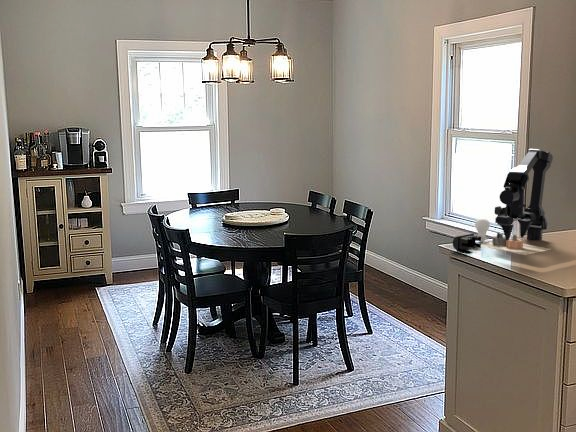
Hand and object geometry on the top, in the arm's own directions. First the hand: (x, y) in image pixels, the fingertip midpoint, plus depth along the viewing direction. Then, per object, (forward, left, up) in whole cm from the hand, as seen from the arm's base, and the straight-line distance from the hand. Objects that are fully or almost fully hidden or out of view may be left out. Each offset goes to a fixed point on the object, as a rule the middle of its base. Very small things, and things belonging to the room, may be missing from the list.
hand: (514, 238), depth 264 cm
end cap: (+16, -11, -5) cm, 20 cm away
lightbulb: (-2, -18, -5) cm, 19 cm away
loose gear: (0, 0, -4) cm, 4 cm away
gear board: (0, 0, -5) cm, 5 cm away
